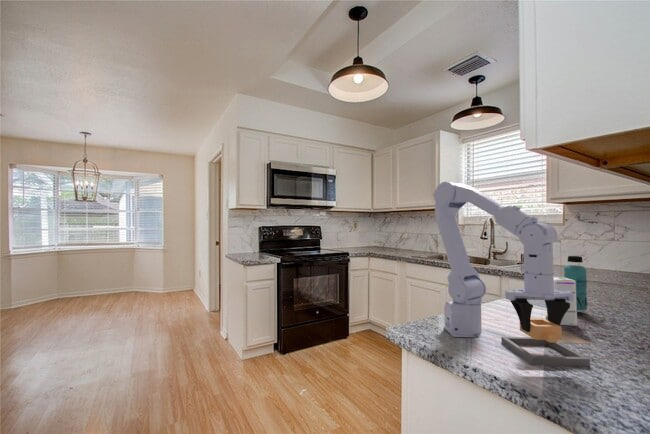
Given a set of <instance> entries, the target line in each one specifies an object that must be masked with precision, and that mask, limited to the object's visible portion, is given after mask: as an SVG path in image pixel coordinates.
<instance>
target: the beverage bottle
mask: <svg viewBox="0 0 650 434" xmlns="http://www.w3.org/2000/svg"><path fill="white" fill-rule="evenodd" d="M567 262H568V263H569V262H570V263H579V264H580V263H583V257H582V256H580V255H568V256H567ZM587 271H588V270H587V268H586V267H584V266H583V265H577V264H567V265H565V266H564V267H563V274H564V275H563V277H564V278H568V279H571V280H575V281H576V305H577V311H587V309H588V293H587V292H588V291H587V287H588V285H587V282H588V281H587V280H588V279H587Z"/></svg>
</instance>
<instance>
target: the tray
mask: <svg viewBox="0 0 650 434" xmlns="http://www.w3.org/2000/svg"><path fill="white" fill-rule="evenodd" d="M501 344H502V345H504V346H505V347H506V348H508V349H509V350H511V351H512V352H513V353H515V355H518V357H520V358H522V359H523V360H524V361H526V362H527V363H528V364H530V365H531V366H549V367H550V366H552V367H553V366H554V367H557V366H559V367H591V359H590V358H589V357H586V355H583V354H581V353H579V352H578V351H576V350H574V349H572V348H570V347H568V346H567V345H565V344H564V343H559V342H548V341H546V340H535V339H534V338H532V337H530V336H526V337H525V336H501ZM521 345H522V346H549V347H551V348H552V349H555V350H556V351H557V352H560V353H561V354H562V355H565V356H559V355H558V356H557V355H555V356H554V355H553V356H549V355H548V356H547V355H533V354H531V353H530V352H528V351H527V350H525V349H524V348H523V347H521ZM567 371H569V370H567Z"/></svg>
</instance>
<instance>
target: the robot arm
mask: <svg viewBox="0 0 650 434" xmlns="http://www.w3.org/2000/svg"><path fill="white" fill-rule="evenodd" d="M432 195H433V198H434V201H435V204H434V205H435V206H434V218H435V220H436V224H437V228H438V231H439V233H440V237H441V240H442V243H443V247H444V250H445V254H446V256H447V260H448V264H449V268H450V271H449V274H448V275H447V282H448V285H447V286H448V287H447V289H448V294H449V297H450V298H451V301H445V302H444V308H443V312H444V313H443V314H444V316H443V319H444V320H443V321H444V325H443V328H444V329H445V330H446V331H447V332H448V334H450V335H451V336H452V337H453V338H454V337H455V338H479V336H478V335H479V334H482V330H483V329H482V298H483V297H484V296H485V294H486V293H487V287H486V284H485V282H484V280H482V279H481V277H480V275H479V272H478V270H476V269H475V268H474V267H472V265H471V262H470V259H469V256H468V253H467V250H466V246H465V244H464V241H463V237H462V234H461V232H460V229H459V226H458V221H457V218H456V215H457V214H458V212H459V211H460V210H461V209H462V207H464V206H465V205H466V204H468V203H469V204H471V205H472V206H475V207H477V208H478V209H480V210H482V211H484V212H486V213H487V214H489V215H491V216H493V218H494V222H495V223H496V224H497V225H498V226H500V227H501V228H504V229H505V230H507V232H510V233H511V234H512V235H514V236H515V237H517V238H518V240H519V242H520V243H521V244H522V246H523V278H524V279H523V284H524V285H523V286H524V288H523V289H512V290H505V291H504V292H505V293H504V295H505V299H506V300H509V301H510V303H511V304H512V306H513V309H514V310H515V312H516V314H517V317H518V319H519V320H518V321H519V325H520V324H521V328H522V329H523V330H524V331H526V332H530V327H531V323H530V318H532V317H531V316H532V312H533V307H534V305H533V304H532V303H530V302H529V301H544V303H545V306H546V313H547V312H548V321H550V322H553V323H555V324H557V325H559V326H561V325H560V324H561V321H562V318H563V316H564V315H565V313H566V312H567V310H568V309H569V308H570V303H568V302H566V300H568V301H574V293H572V292H569V291H555V290H554V277H555V276H554V275H555V274H554V247H553V245H554V242H555V241H556V240H557V237H558V233H557V230H556V228H555V227H554V226H552V225H551V224H550V223H549V222H545V221H540V222H539V221H538V220H539V218H538V217H536V216H530V215H529V214H527V213H526V212H523V211H522V210H521V207H520V206H518V205H511V204H508V205H502V204H500V203H498V202H496V201H495V200H493V199H492V198H491V197H489V196H487V195H486V194H484V193H483V192H481V191H480V190H478V189H476V188H475V187H472V186H470V185H469V184H467V183H456V182H449V181H442V182H441V183H439V184H438V185H437V187H436V189H434V192H433V194H432Z"/></svg>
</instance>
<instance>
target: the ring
mask: <svg viewBox="0 0 650 434" xmlns="http://www.w3.org/2000/svg"><path fill="white" fill-rule="evenodd" d="M530 323H531V327H530V332H526V331H524V330H523V329H522V328H521V324H520V323H519V331H520V332H522V333H524V334H525V335H527V337H532V338H534V339H535V340H546V341H548V342H557V340H562V331H563V329H562V326H561V325H560V326H559V325H557V324H555V323H553V322H550V321H548V320H546V318H538V317H537V318H533V317H531V318H530Z"/></svg>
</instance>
